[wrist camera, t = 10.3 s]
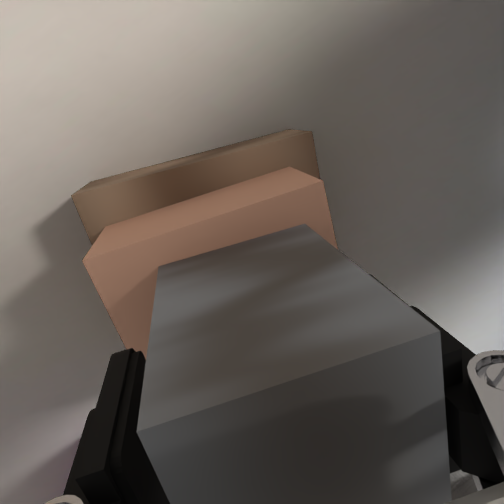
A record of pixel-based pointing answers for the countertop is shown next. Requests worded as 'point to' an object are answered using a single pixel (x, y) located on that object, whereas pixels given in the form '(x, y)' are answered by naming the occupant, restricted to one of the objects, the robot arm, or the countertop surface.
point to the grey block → (291, 381)
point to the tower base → (191, 178)
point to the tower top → (195, 239)
